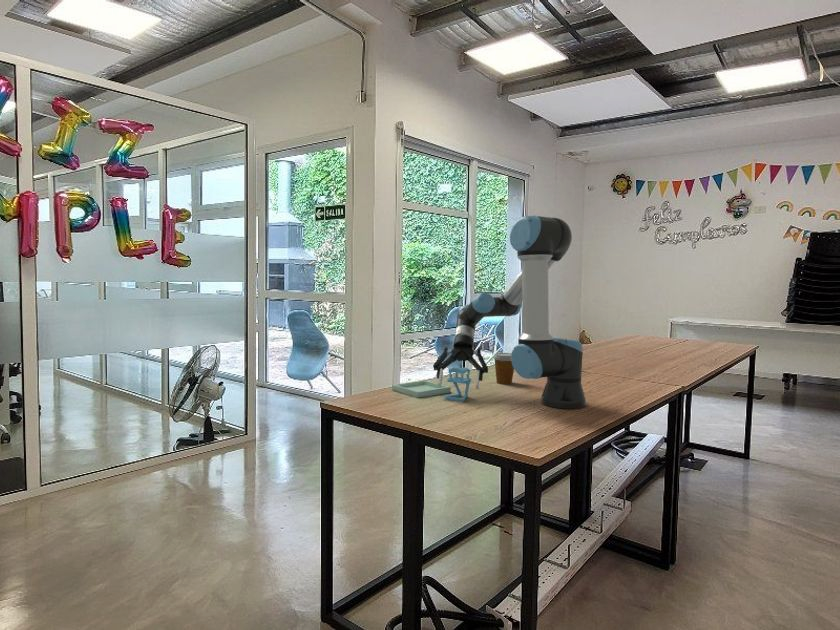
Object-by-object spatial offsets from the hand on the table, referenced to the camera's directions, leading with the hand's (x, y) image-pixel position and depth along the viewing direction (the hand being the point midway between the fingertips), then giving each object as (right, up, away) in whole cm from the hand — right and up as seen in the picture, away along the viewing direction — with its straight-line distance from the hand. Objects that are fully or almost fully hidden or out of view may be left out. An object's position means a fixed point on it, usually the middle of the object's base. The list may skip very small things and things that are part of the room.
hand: (458, 386), depth 199 cm
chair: (0, -5, +2) cm, 5 cm away
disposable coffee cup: (+21, -3, +32) cm, 39 cm away
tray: (-13, -4, +13) cm, 19 cm away
